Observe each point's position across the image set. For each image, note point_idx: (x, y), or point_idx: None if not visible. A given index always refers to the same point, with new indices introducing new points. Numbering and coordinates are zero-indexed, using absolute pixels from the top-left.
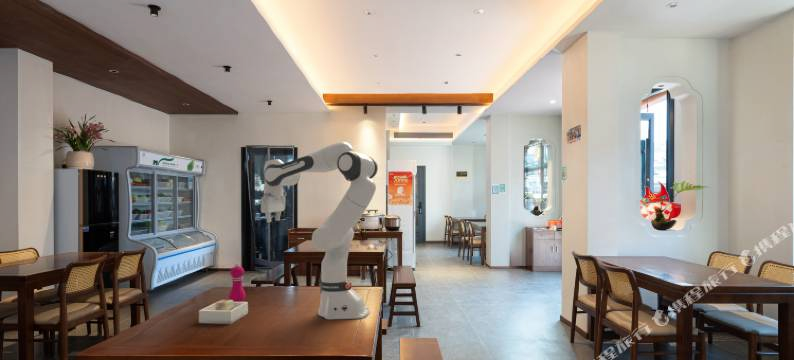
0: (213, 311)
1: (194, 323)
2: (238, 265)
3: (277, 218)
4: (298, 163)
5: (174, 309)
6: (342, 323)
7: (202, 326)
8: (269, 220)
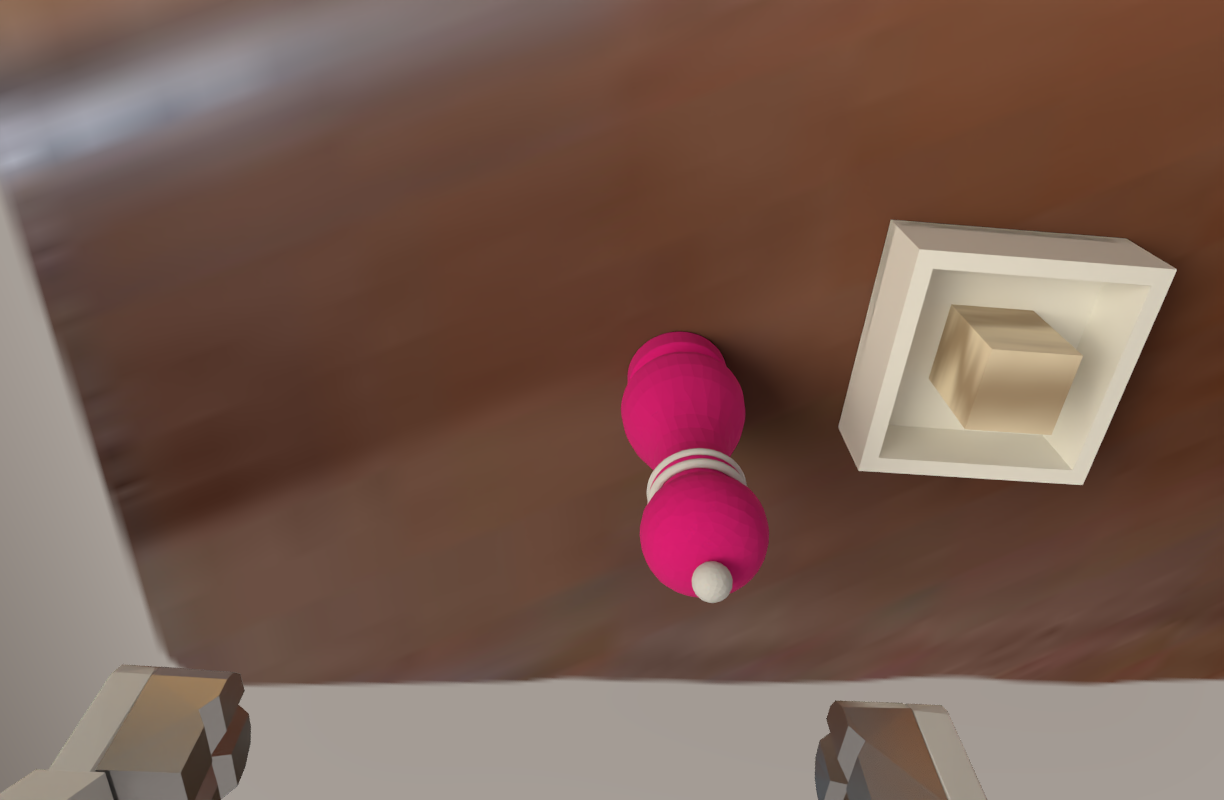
0: (1121, 392)
1: None
2: (721, 565)
3: (210, 757)
4: None
5: (735, 675)
6: None
7: None
8: (952, 762)
